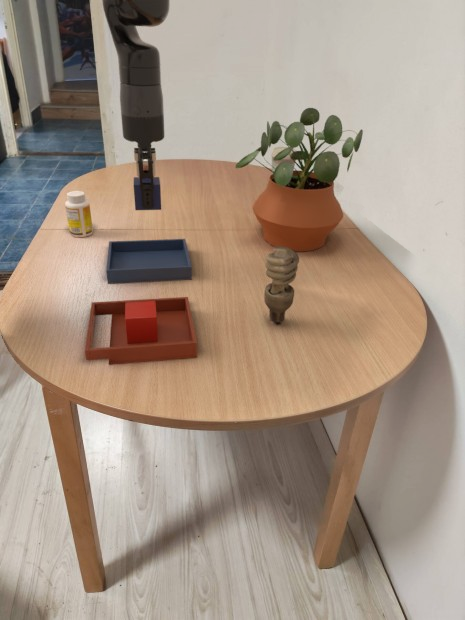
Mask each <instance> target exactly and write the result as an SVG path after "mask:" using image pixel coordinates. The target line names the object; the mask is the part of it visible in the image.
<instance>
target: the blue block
mask: <svg viewBox="0 0 465 620" xmlns="http://www.w3.org/2000/svg"><path fill="white" fill-rule="evenodd" d="M142 180H143V183H151V179H150V178H144V179H142ZM139 185H140V177H138V176H134V177H133V197H134V209H135V211H162V194H161V191H162V190H161V189H162V188H161V180H160V177H159V176H154V177H153V185H154V190H153V199H154V207H153V208H152V209H144V208H143V207H142V195H141V189H140V187H139Z"/></svg>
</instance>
